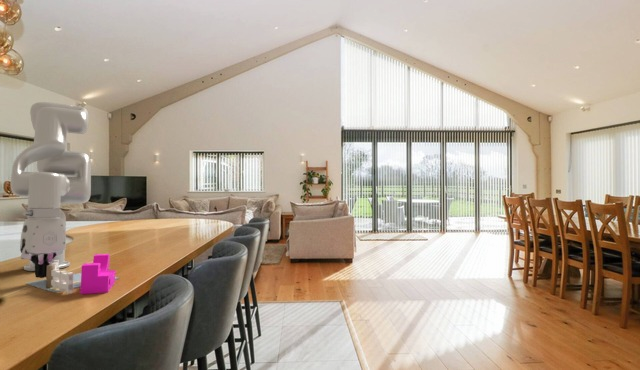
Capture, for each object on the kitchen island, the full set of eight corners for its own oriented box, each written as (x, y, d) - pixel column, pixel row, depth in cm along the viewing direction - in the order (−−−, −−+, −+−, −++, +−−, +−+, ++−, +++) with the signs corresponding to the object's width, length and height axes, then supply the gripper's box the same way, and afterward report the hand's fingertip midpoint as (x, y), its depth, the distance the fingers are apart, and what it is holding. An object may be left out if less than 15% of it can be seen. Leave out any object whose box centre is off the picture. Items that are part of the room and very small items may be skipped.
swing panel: (53, 284, 99) (54, 266, 99) (48, 284, 98) (49, 267, 98) (58, 276, 107) (58, 260, 108) (53, 276, 107) (53, 260, 107)
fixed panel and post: (44, 289, 97) (45, 265, 97) (52, 287, 98) (53, 264, 98) (66, 295, 91) (67, 271, 91) (74, 294, 93) (74, 269, 93)
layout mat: (26, 283, 101) (26, 282, 101) (90, 272, 117) (90, 270, 117) (54, 292, 93) (54, 290, 93) (119, 278, 109) (119, 277, 109)
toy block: (107, 292, 95) (108, 264, 95) (80, 294, 92) (81, 265, 92) (117, 277, 109) (118, 253, 109) (94, 279, 106) (95, 254, 106)
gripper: (23, 215, 95) (21, 284, 94) (78, 213, 109) (76, 273, 108) (6, 215, 97) (3, 281, 97) (61, 212, 111) (59, 271, 111)
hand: (41, 276), depth 102 cm, fingers closed
